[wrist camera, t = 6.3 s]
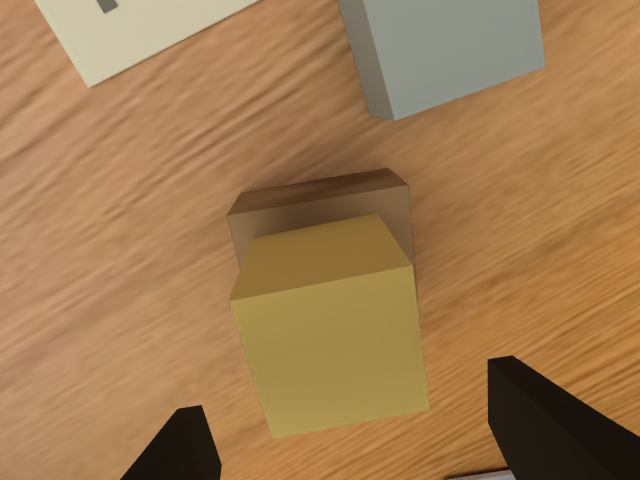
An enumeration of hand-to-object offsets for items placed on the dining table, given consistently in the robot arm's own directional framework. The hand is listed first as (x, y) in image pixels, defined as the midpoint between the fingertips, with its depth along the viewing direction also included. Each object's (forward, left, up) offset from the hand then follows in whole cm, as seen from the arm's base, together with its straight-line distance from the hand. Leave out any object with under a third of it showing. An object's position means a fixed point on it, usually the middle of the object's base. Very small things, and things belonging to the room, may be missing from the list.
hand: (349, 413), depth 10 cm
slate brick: (-5, -9, -10) cm, 15 cm away
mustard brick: (0, 0, -7) cm, 7 cm away
